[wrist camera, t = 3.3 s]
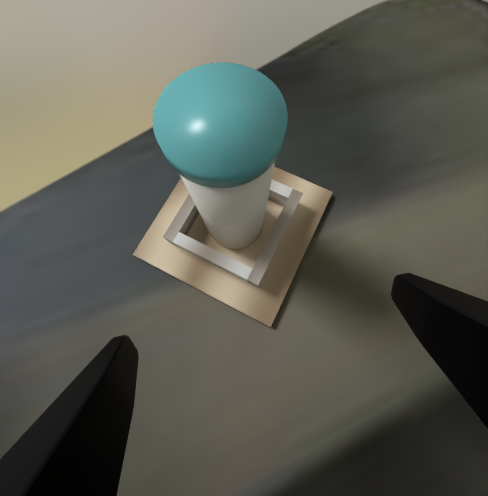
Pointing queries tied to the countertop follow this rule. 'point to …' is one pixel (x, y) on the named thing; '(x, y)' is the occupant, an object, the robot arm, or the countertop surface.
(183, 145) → the white tall cylindrical piece
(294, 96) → the countertop surface
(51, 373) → the countertop surface
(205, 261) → the housing
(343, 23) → the countertop surface
